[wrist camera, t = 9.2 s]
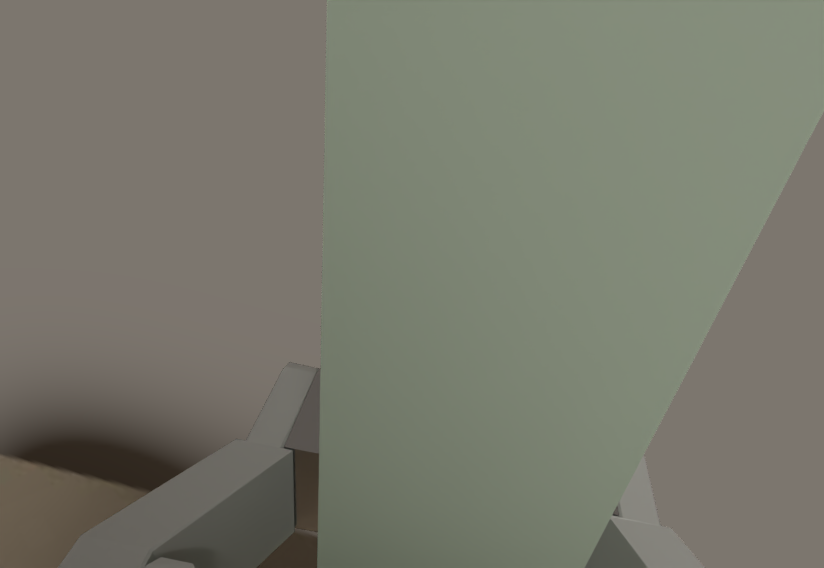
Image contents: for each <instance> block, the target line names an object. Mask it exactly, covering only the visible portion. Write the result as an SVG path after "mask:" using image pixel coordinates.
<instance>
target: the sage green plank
mask: <svg viewBox="0 0 824 568" xmlns="http://www.w3.org/2000/svg"><path fill="white" fill-rule="evenodd" d="M326 31H327V32H326V87H325V148H324V203H323V262H322V319H321V376H320V433H319V491H318V549H317V568H585V566H586V564H587V562H588V560H589V558H590V556H591V555H592V553H593V551H594V549H595V547H596V545H597V543H598V541H599V539H600V537H601V535H602V534H603V532H604V530H605V528H606V526H607V524H608V522H609V520H610V518H611V516H612V514H613V513H614V511H615V509H616V507H617V505H618V503H619V501H620V499H621V497H622V495H623V493H624V492H625V490H626V488H627V486H628V484H629V482H630V480H631V478H632V476H633V474H634V472H635V471H636V469H637V467H638V465H639V463H640V461H641V459H642V457H643V455H644V453H645V451H646V449H647V448H648V446H649V444H650V442H651V440H652V438H653V436H654V434H655V432H656V430H657V429H658V427H659V425H660V423H661V421H662V419H663V417H664V415H665V413H666V411H667V409H668V408H669V405H670V404H671V402H672V400H673V398H674V396H675V394H676V392H677V390H678V388H679V386H680V385H681V383H682V381H683V379H684V377H685V375H686V373H687V371H688V369H689V367H690V366H691V363H692V362H693V360H694V357H695V356H696V354H697V352H698V350H699V348H700V346H701V344H702V343H703V341H704V339H705V337H706V335H707V333H708V331H709V329H710V327H711V325H712V324H713V322H714V320H715V318H716V316H717V314H718V312H719V310H720V308H721V306H722V304H723V303H724V301H725V299H726V297H727V295H728V293H729V291H730V289H731V287H732V285H733V283H734V282H735V280H736V278H737V276H738V274H739V272H740V270H741V268H742V266H743V264H744V262H745V261H746V259H747V257H748V255H749V253H750V251H751V249H752V247H753V245H754V243H755V241H756V240H757V238H758V236H759V234H760V232H761V230H762V228H763V226H764V224H765V222H766V220H767V219H768V217H769V215H770V213H771V211H772V209H773V207H774V205H775V203H776V201H777V199H778V198H779V196H780V194H781V192H782V190H783V188H784V186H785V184H786V182H787V180H788V178H789V177H790V174H791V173H792V171H793V169H794V167H795V165H796V163H797V161H798V159H799V157H800V155H801V153H802V152H803V150H804V148H805V146H806V144H807V142H808V140H809V138H810V136H811V135H812V133H813V131H814V129H815V127H816V125H817V123H818V121H819V119H820V117H821V115H822V114H823V112H824V0H327V29H326Z"/></svg>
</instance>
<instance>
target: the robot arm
mask: <svg viewBox="0 0 824 568" xmlns="http://www.w3.org/2000/svg"><path fill="white" fill-rule="evenodd" d="M320 376H321V368H320V369H319V368H314V367H309V366H305V365H301V364H296V363H292V362H289V363H288V364H287V365H286V366H285V367H284V368H283V370H282V371H281V373H280V375H279V377H278V379H277V381H276V383H275V385H274V387H273V389H272V391H271V393H270V395H269V397H268V399H267V400H266V402H265V404H264V406H263V408H262V410H261V412H260V414H259V416H258V418H257V420H256V422H255V424H254V426H253V428H252V430H251V431H250V433H249V435H248V437H247V439H246V440H240V439H235V440H234V441H232V442H230V443H229V444H227V445H225V446H224V447H222V448H221V449H219V450H217V451H216V452H214V453H213V454H211V455H209V456H208V457H206V458H204V459H203V460H201V461H200V462H198V463H196V464H195V465H193V466H192V467H190V468H188V469H187V470H185V471H184V472H182V473H180V474H179V475H177V476H176V477H174V478H172V479H171V480H169V481H167V482H166V483H164V484H163V485H161V486H159V487H158V488H156V489H155V490H153V491H151V492H150V493H148V494H146V495H145V496H143V497H142V498H140V499H138V500H137V501H135V502H134V503H132V504H130V505H129V506H127V507H125V508H124V509H122V510H121V511H119V512H117V513H116V514H114V515H113V516H111V517H109V518H108V519H106V520H104V521H103V522H101V523H100V524H98V525H96V526H95V527H93V528H92V529H90V530H88V531H87V532H85V533H84V534H82V535H81V536H80V537H79V538H78V540H77V541H76V543H75V544H74V546H73V547H72V548H71V550H70V551H69V553H68V554H67V555H66V557H65V558H64V560H63V561H62V563H61V564H60V565H59V567H58V568H257V567H258V566H259V565H260V564H261V563H262V562H263V561H264V560H265V559H266V558H267V557H268V556H269V555H270V554H271V553H272V552H274V551H275V550H276V549H277V548H278V547H279V546H280V545H281V544H282V543H283V542H284V541H285V540H286V539H287V538H288V537H289V536H290V535H292V534H293V533H294V532H295V528H298V529H303V530H309V531H315V532H318V491H319V433H320ZM585 568H705V567H704V566H703V564H702V563H701V562H700V561H699V560H698V559H697V557H696V556H695V555H694V554H693V553H692V552H691V551H690V549H689V548H688V547H687V546H686V544H685V543H684V542H683V541H682V540H681V539H680V537H679V536H678V535H677V534H676V533H675V532H674V530H673V529H672V528H670V527H666V526H661V525H660V521H659V516H658V512H657V508H656V503H655V499H654V494H653V490H652V486H651V482H650V477H649V473H648V468H647V464H646V460H645V455H643V457H642V459H641V461H640V463H639V465H638V467H637V469H636V471H635V472H634V474H633V476H632V478H631V480H630V482H629V484H628V486H627V488H626V490H625V492H624V493H623V495H622V497H621V499H620V501H619V503H618V505H617V507H616V509H615V511H614V513H613V514H612V516H611V518H610V520H609V522H608V524H607V526H606V528H605V530H604V532H603V534H602V535H601V537H600V539H599V541H598V543H597V545H596V547H595V549H594V551H593V553H592V555H591V556H590V558H589V560H588V562H587V564H586V566H585Z"/></svg>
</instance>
